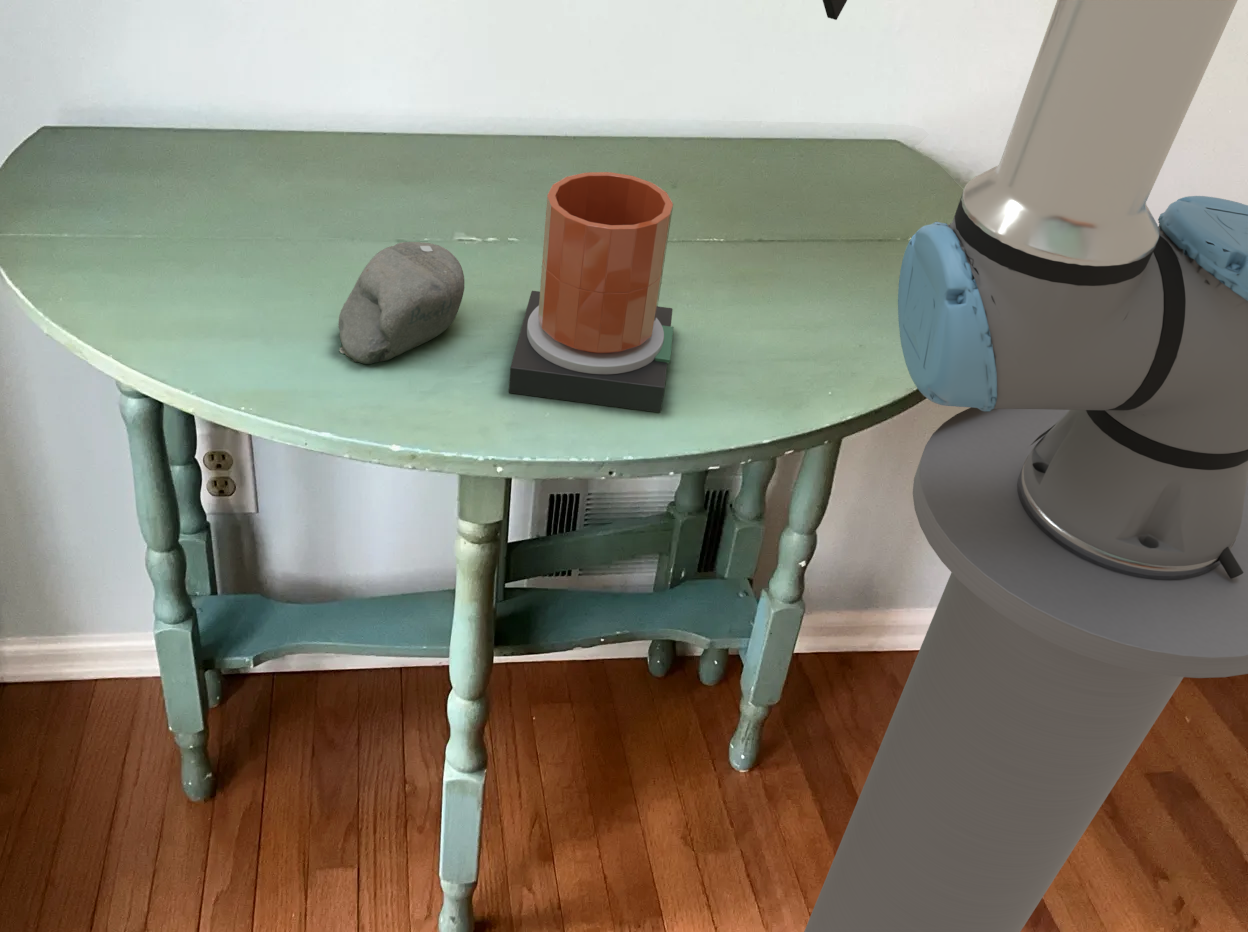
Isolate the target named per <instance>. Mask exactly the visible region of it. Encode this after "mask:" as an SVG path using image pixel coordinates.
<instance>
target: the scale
mask: <svg viewBox="0 0 1248 932" xmlns="http://www.w3.org/2000/svg"><path fill="white" fill-rule="evenodd" d="M539 299H540V290H531V292H530V295H529V298H528V302H527V306H526V309H525V313H524V316H523V321H522V324H521V328H520V330H519V335H518V339H517V342H516V345H515V349H514V352H513V356H512V360H511V364H510V366H509V381H508V393H509V394H516V395H523V396H524V395H525V396H532V397H538V398H545V399H555V400H560V401H562V400H563V401H570V402H577V403H584V404H591V405H600V406H606V407H614V408H622V409H629V410H636V411H645V412H651V413H652V412H653V413H661V412H662V407H663V401H664V397H665V390H666V381H667V379H666V378H667V369H668V364H670V363H671V359H672V358H671V357H672V348H673V347H672V346H673V339H674V326H672V319H673V307H666V306H659V305H658V308H657V315H656V321H655V326H654V330H653V333H652V336H651V337H650V338H649V339H648V340H646V341H645V342H644V343H642V344H641V345H640V346H637V347H634V348H630V349H627V350H624V351H620V352H613V353H592V352H585V351H581V350H577V349H574V348H572V347H569V346H567V345H565V344H562V343H560V342H558V341H556V340H554V339H553V338H552V337H551V336H550V335H549V334H547V333H546V332H545V331H544V330H543V329H542V327H541V323H540V320H539V317H538V313H539Z"/></svg>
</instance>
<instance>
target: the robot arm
mask: <svg viewBox="0 0 1248 932" xmlns="http://www.w3.org/2000/svg"><path fill="white" fill-rule="evenodd" d="M847 2H848V0H822V3H823V7H824V10H825V13H826V17H827V19H831V20H834V21H837V20H838V18H839V16H840V14H841V13H842V11H843V9H844V8H845V5H846V3H847ZM1237 2H1238V0H1056V3H1055V5H1054V8H1053V11H1052V14H1051V16H1050V19H1049V21H1048V22H1049V23H1048V25H1047V28H1046V31H1045V34H1044V36H1043V39H1042V42H1041V45H1040V48H1039V50H1038V53H1037V56H1036V59H1035V61H1034V64H1033V67H1032V70H1031V73H1030V76H1029V79H1028V82H1027V84H1026V88H1025V90H1024V93H1023V95H1022V99H1021V100H1020V101H1021V102H1020V104H1019V107H1018V109H1017V113H1016V115H1015V117H1014V122H1013V124H1012V127H1011V130H1010V132H1009V135H1008V139H1007V141H1006V144H1005V147H1004V149H1003V152H1002V155H1001V158H1000V161H999V163H998V164H997V165H995V166H994V167H991V168H990V169H988V170H986V171H984V172H982V173H980V174H978V175H975V176H974V177H973V178H971V179H970V180H969V181H968V182H967V183H966V184H965V186H964V188H963V190H962V193H961V196H960V198H959V202H958V204H957V208H956V210H955V214H954V216H953V219H952V220H951V222H950V223H949V224H948V223H945V222H940V221H935V222H932V223H930V224H925V225H922V226H921V227H920V228H919V229H918V230H916V232H915V233H914V234H913V235H912V236H911V238H910V239H909V241H908V243H907V245H906V247H905V250H904V252H903V256H902V260H901V266H900V271H899V277H898V278H899V279H898V289H897V317H898V318H897V319H898V320H897V321H898V330H899V339H900V345H901V350H902V355H903V359H904V362H905V365H906V368H907V371H908V374H909V376H910V378H911V380H912V382H913V384H914V385H915V387H916V388H917V390H918V391H919V392H920V393H921V395H922V396H923V397H925V398H926V399H927V400H928V401H931V402H932V403H933V404H936V405H939V406H945V407H957V408H958V407H959V408H971V407H972V408H978V409H980V410H981V411H991V410H993V409H1053V410H1069V411H1068V412H1067V413H1066V414H1065V415H1064V416H1063V417H1062V418H1061V419H1060V420H1059V421H1058V422H1057V423H1056V424H1055V425H1054V426H1052V427H1051V428H1050V429H1048V430H1047V431H1046V432H1044V433H1043V434H1042V435H1040V436H1039V437H1038V438H1037V439H1036V440H1035V441H1034V442H1033V443H1035V442H1036V441H1037V440H1039V439H1040V438H1041V437H1043V436H1044V435H1045V434H1046V435H1045V436H1044V437H1043V438H1042V439H1041V440H1040V441H1039V442H1038V443H1037V444H1036V445H1035V446H1034V448H1033V449H1032V451H1031V452H1030V454H1029V455H1028V457H1027V458H1026V460H1025V462H1024V465H1023V467H1022V469H1021V472H1020V474H1019V477H1018V482H1017V491H1018V496H1019V499H1020V502H1021V504H1022V506H1023V508H1024V510H1025V511H1026V513H1027V515H1028V516H1029V517H1030V519H1031V520H1032V521H1033V522H1034V523H1035V525H1036V526H1037V527H1038V528H1039V529H1040V530H1041V531H1042V532H1044V533H1045V534H1046V535H1047V536H1048V537H1049V538H1051V539H1052V540H1053V541H1054V542H1056V543H1057V544H1059V545H1060V546H1062V547H1063V548H1065V549H1066V550H1068V551H1070V552H1071V553H1073V554H1075V555H1077V556H1079V557H1080V558H1082V559H1084V560H1087V561H1089V562H1091V563H1093V564H1096V565H1098V566H1101V567H1103V568H1106V569H1109V570H1112V571H1115V572H1118V573H1122V574H1126V575H1130V576H1135V577H1140V578H1146V579H1155V580H1180V579H1188V578H1193V577H1197V576H1200V575H1203V574H1206V573H1208V572H1210V571H1212V570H1213V569H1215V568H1216V567H1217V566H1219V565H1220V564H1222V566H1223V568H1224V569H1225V571H1226V572H1227V574H1228V576H1229V577H1230V578H1231V579H1232V578H1235V577H1237V576H1239V575H1241V574H1243V573H1244V572H1243V571H1242V569H1241V567H1240V566H1239V564H1238V563H1237V561H1236V559H1235V558H1234V556H1233V554H1232V553H1231V551H1230V549H1231V548H1232V546H1233V544H1234V543H1235V541H1236V537H1237V535H1238V532H1239V529H1240V526H1241V520H1242V513H1243V506H1244V498H1245V491H1246V484H1247V476H1248V204H1246V203H1241V202H1238V201H1234V200H1230V199H1224V198H1221V197H1215V196H1214V197H1213V196H1207V195H1188V196H1184V197H1180V198H1178V199H1177V200H1175V201H1174V202H1172V203H1170V204H1169V205H1168V206H1167V208H1166V209H1165V211H1163V212H1162V213H1160V214H1159V216H1158V219H1157V221H1156V219H1155V218H1154V216H1153V214H1152V212H1151V210H1150V208H1149V207H1148V205H1147V201H1148V199H1149V197H1150V195H1151V192H1152V190H1153V188H1154V186H1155V183H1156V181H1157V179H1158V177H1159V174H1160V172H1161V171H1162V168H1163V166H1164V163H1165V161H1166V159H1167V157H1168V154H1169V153H1170V150H1171V148H1172V147H1173V144H1174V141H1175V140H1176V137H1177V135H1178V133H1179V130H1180V128H1181V127H1182V124H1183V122H1184V119H1185V118H1186V115H1187V113H1188V111H1189V108H1190V106H1191V104H1192V101H1193V100H1194V98H1195V95H1196V93H1197V91H1198V88H1199V86H1200V84H1201V83H1202V80H1203V78H1204V75H1205V73H1206V71H1207V69H1208V66H1209V64H1210V63H1211V60H1212V57H1213V56H1214V53H1215V50H1216V49H1217V47H1218V44H1219V42H1220V41H1221V37H1222V35H1223V33H1224V31H1225V29H1226V27H1227V25H1228V23H1229V20H1230V18H1231V15H1232V13H1233V11H1234V9H1235V7H1236V5H1237ZM1157 222H1158V223H1157ZM1033 443H1032V444H1033ZM1032 444H1031V445H1032ZM1031 445H1030V446H1031Z"/></svg>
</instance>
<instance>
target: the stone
mask: <svg viewBox="0 0 1248 932" xmlns="http://www.w3.org/2000/svg"><path fill="white" fill-rule="evenodd" d="M358 276H359V277H358V278H357V280H356V282H355V284H354V286H353V288H352V290H351V291H350V293H349V295H348V296H347V299H346V301H345V302H344V303H343V305H342V307H341V310H340V312H339V316H338V323H337V324H338V330H339V339H340V342H341V345H342V346H341V347H339V352H340V353H341V354H345V355H346V357H347V358H349V359H351V360H353V362H354V363H360V364H363V365H368V364H369V365H370V364H376V363H379V362H386V361H388V360H391V359H394V358H396V357H398V356H401V355H402V354H404V353H406V352H408V351H410V350H412V349H415V348H416V347H419V346H421V345H423V344H425V343H428V342H429V341H431V340H433V339H434V338H436V337H438V336H439V335H441V334H442V333H444V332H445V331H446V330H447V329H448V328H449V327H450V326H451V325H452V323H453V322H454V320H455V319H456V317H457V315H458V312H459V310H460V307H461V304H462V301H463V296H464V293H465V274H464V270H463V267H462V265H461V263H460V261H459V259H458V258H457V257H456V255H454V254H453V253H452V252H451V251H450V250H448V249H447V248H445V247H443V246H441V245H439V244H435V243H431V242H422V241H404V242H398V243H396V244H394V245H391V246H387V247H385V248H383V249H381V250H379V251H378V252H376V254H375V255H374V256H372V258H371V259H370V260H369V261H368V262H367V264H366V265H365V266H364V268H363V270H362V271H361V273H360V274H359V275H358Z"/></svg>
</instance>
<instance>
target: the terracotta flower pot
mask: <svg viewBox="0 0 1248 932" xmlns="http://www.w3.org/2000/svg"><path fill="white" fill-rule="evenodd" d="M545 207H546V208H545V219H544V220H545V221H544V234H543V247H542V262H541V272H540V275H541V276H540V286H539V287H540V288H539V291H540V299H539V313H538V317H539V320H540V323H541V327H542V329H543V330H544V331H545V332H546V333H547V334H549V335H550V336H551V337H552V338H553V339H554V340H556V341H558V342H560V343H562V344H565V345H567V346H569V347H572V348H574V349H577V350H581V351H585V352H592V353H613V352H620V351H624V350H627V349H630V348H634V347H637V346H640V345H641V344H642V343H644V342H645V341H646V340H648V339H649V338H650V337H651V336H652V333H653V330H654V326H655V321H656V315H657V308H658V306H659V302H660V300H659V299H660V293H661V289H662V280H663V274H664V268H665V261H666V255H667V247H668V241H669V235H670V228H671V222H672V215H673V209H674V203H673V201H672V199H671V198H670V195H669V194H668V193H667V191H665V190H663V188H661V187H660V186H658V185H657V184H655V183H653V182H651V181H649V180H645V179H642V178H640V177H638V176H634V175H630V174H624V173H617V172H611V171H598V172H597V171H596V172H595V171H593V172H592V171H591V172H590V171H589V172H588V171H587V172H582V173H577V174H573V175H568V176H565V177H563V178H562V179H560V180H558V181H557V182H555V183H553V184H552V185H551V187H550V189H549V191H548V193H547V196H546V206H545Z"/></svg>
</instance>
